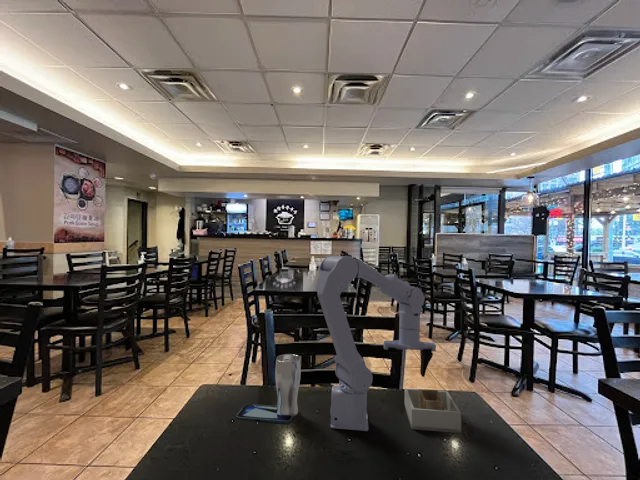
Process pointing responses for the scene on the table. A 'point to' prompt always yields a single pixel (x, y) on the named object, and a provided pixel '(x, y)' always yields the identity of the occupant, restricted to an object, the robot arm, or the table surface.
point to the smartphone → (262, 414)
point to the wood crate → (430, 400)
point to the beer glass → (287, 384)
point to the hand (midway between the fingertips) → (408, 374)
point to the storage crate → (432, 413)
